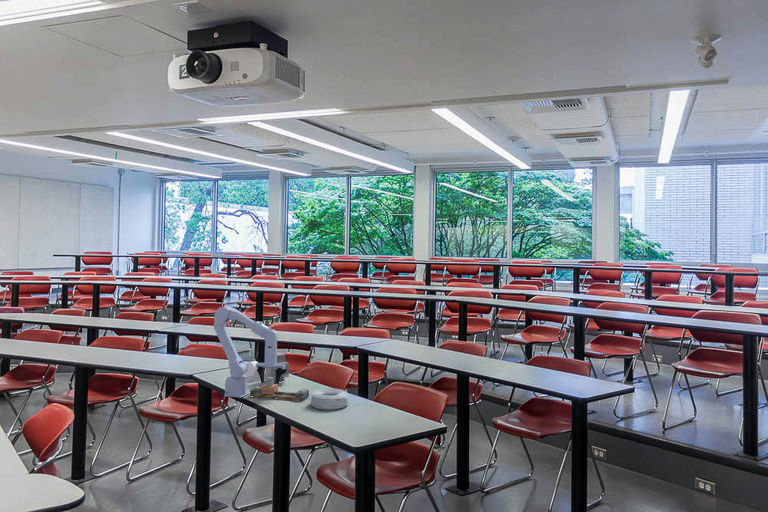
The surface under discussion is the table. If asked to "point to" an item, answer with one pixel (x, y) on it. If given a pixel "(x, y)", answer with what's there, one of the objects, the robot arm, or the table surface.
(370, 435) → the table surface
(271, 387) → the carriage
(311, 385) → the table surface
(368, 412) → the table surface
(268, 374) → the circuit breaker
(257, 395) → the rail
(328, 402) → the cable
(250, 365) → the white slotted bracket
